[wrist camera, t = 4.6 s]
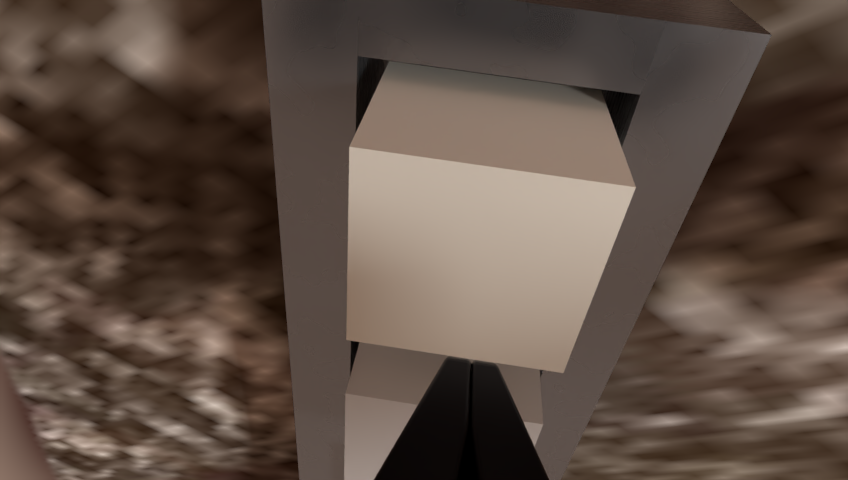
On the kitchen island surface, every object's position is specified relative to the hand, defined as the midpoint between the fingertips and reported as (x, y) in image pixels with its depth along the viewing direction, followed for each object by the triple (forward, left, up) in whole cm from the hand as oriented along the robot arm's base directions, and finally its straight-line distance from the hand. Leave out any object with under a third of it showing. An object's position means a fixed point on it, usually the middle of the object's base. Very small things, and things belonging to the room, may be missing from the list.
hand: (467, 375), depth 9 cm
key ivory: (0, 0, -7) cm, 7 cm away
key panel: (0, +11, -10) cm, 14 cm away
